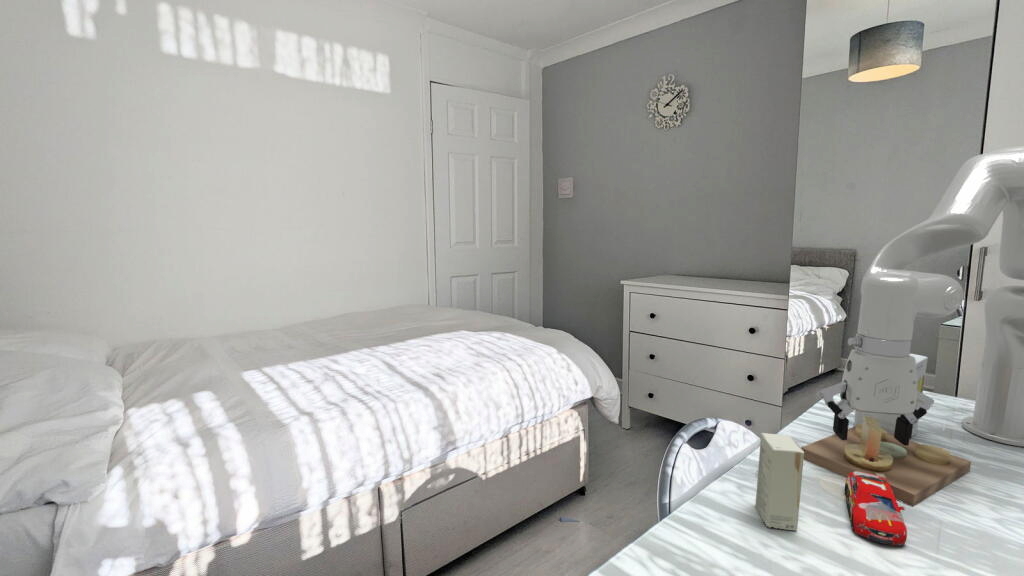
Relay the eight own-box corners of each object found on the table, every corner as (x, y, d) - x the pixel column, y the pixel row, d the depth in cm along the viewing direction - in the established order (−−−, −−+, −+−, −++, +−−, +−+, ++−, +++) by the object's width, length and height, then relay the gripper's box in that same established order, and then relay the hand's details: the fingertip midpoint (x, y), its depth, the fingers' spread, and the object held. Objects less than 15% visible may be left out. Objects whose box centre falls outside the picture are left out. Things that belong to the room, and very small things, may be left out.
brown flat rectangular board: (860, 432, 105) (862, 417, 104) (969, 471, 89) (972, 453, 89) (799, 457, 94) (801, 440, 93) (912, 506, 78) (915, 486, 78)
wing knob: (842, 448, 93) (846, 412, 92) (888, 457, 90) (893, 420, 89) (846, 464, 87) (850, 426, 86) (895, 475, 84) (901, 435, 82)
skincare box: (798, 532, 72) (806, 453, 70) (765, 528, 73) (773, 450, 71) (783, 506, 78) (791, 434, 76) (753, 503, 79) (760, 431, 77)
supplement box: (904, 444, 99) (916, 364, 97) (851, 429, 107) (861, 353, 104) (918, 432, 105) (929, 355, 103) (867, 417, 112) (876, 346, 110)
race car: (909, 557, 67) (914, 524, 67) (850, 540, 71) (854, 509, 70) (891, 497, 81) (895, 470, 80) (842, 486, 84) (845, 459, 84)
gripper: (837, 348, 83) (826, 444, 85) (954, 355, 80) (939, 454, 82) (818, 337, 90) (808, 426, 93) (925, 343, 87) (912, 434, 90)
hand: (870, 439), depth 88 cm, fingers open, 9 cm apart
